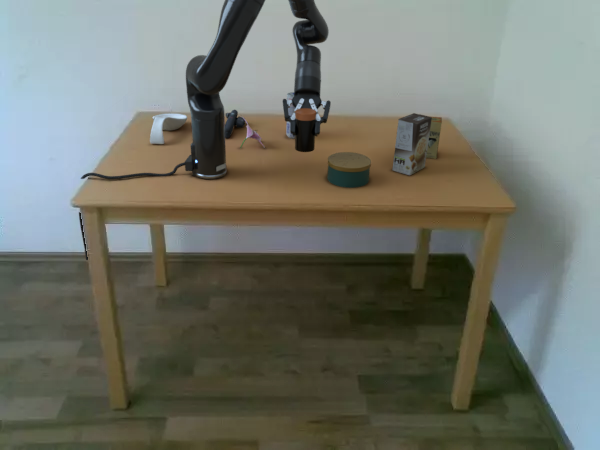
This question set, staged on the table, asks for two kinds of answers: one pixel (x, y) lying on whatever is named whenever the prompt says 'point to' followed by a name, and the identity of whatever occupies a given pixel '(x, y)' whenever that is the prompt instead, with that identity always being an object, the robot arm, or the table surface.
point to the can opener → (233, 122)
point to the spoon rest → (165, 126)
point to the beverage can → (290, 111)
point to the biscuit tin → (348, 169)
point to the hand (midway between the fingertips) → (305, 134)
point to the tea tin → (305, 129)
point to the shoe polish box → (434, 137)
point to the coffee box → (411, 143)
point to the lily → (252, 134)
